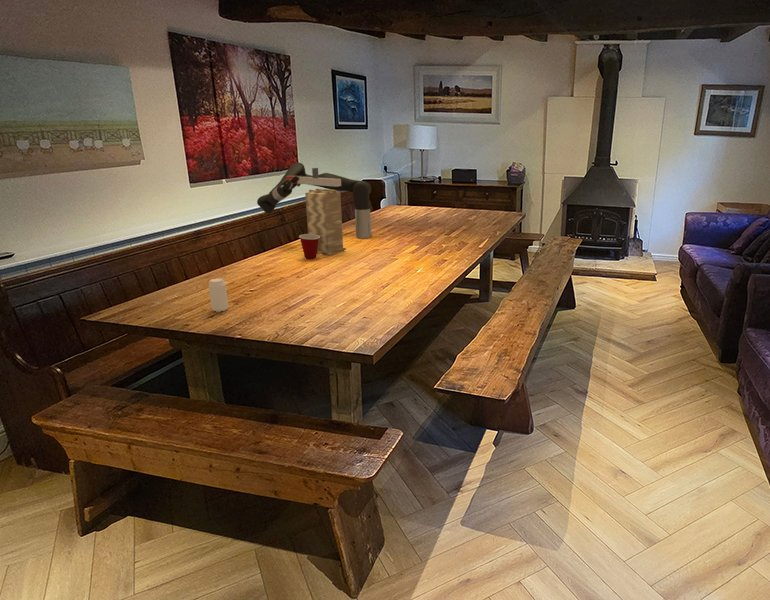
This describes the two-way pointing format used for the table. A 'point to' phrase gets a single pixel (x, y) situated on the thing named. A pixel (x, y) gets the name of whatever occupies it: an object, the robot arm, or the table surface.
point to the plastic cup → (309, 245)
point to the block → (316, 180)
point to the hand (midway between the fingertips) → (300, 177)
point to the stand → (325, 219)
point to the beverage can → (218, 295)
